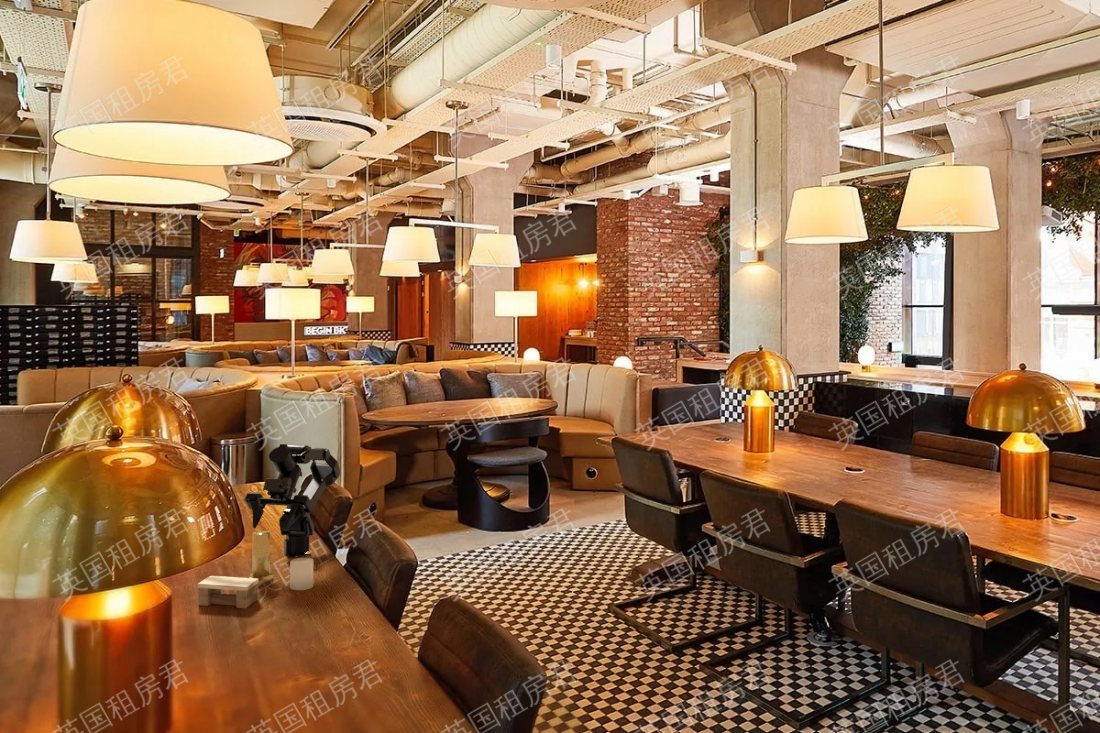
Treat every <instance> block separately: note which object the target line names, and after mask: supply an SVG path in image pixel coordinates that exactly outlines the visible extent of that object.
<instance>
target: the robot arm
mask: <svg viewBox="0 0 1100 733" xmlns="http://www.w3.org/2000/svg"><path fill="white" fill-rule="evenodd" d="M268 457H269V458H268V459H269V461H270V462H271V464H272V465H273V467H274V468H275V470H276V472H278V476H277V478H265V479H264V485H263V488H262V490H264V491H266V492H267V495H268V496H270V497H264V496H263V494H262V493H261V492H251V491H249V492H247V493H246V495H245V496H244V499H243V501H244V502H245V503H246V505H247V506H248V508H250V510H251V511H252V528H253V529H256V528H257V527H258V525H259V523H260V520H261V519H262V516H263V514H264V513H265V512H264V509H265V508H266V506H282V507H283V506H284V507H285V506H286V508H285V509H284V510H283V511H282V514H281V516H280V517H279V521H278V523H279V530H280V535H281V536H285V538H284V540H283V553H284V552H285V553H286V554H287V555H288V556H289V557H288V556H287V555H286V554H285V553H284V554H285V555H286V556H287V557H288V558H290V557H291V558H296V557H295V556H298V557H300V556H299V555H304V554H305V553H306V552H307V551H309V552H310V537H311V536H314V533H315V532H314V531H315V524H314V523H313V521H312V519H311V516H310V515H311V513H312V511H313V509H314V507H315V506H316V504H317V502H318V500H320V497H322V494H323V492H324V491H325V489H326V488H327V487H329V486H331V485H334V484H335V483H336V482H337V480H338V478H339V477H340V475H341V469H340V466H339V462H338V460H337V459H336V458H335V457H334V456H333V455H332V454H331V452H330V450H329V449H328V448H322V447H315V448H312V447H311V446H309V445H305V444H287V443H280V444H279V446H277V447H275V448H273V449H272V450H271V451H270V452H269V454H268ZM311 461H312V462H311ZM316 461H323V462H324V461H325V463H320V462H319V463H318V462H316ZM310 462H311V465H310V467H309V469H310V472H311V475H312V477H311V478H312V479H311V481H310V483H309V485H308V486H307V487H306V489H305V490H304V492H303V493H302V494H297V488H296V487H297V483H298V480H299V478H301V477H303V472H302V468H301V466H300V465H307V464H309V463H310ZM294 493H295V495H294ZM304 556H305V555H304Z"/></svg>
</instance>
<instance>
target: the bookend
mask: <svg viewBox="0 0 1100 733" xmlns="http://www.w3.org/2000/svg"><path fill="white" fill-rule="evenodd" d="M251 546H252V556H251V557H252V561H251V563H252V565H251V566H252V570H251V571H252V572H251V573H250V574H249V578H256V579H259V583H258V587H260V586H261V585H263V584H264V583H267V582H270V581H272V580H273V576H274V575H273V574H274V573H273V572H271V568H270V567H271V563H270V562H271V561H270V560H271V558H270V557H271V533H270V531H269V530H257V531H254V532H252V545H251Z"/></svg>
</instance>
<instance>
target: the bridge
mask: <svg viewBox="0 0 1100 733" xmlns="http://www.w3.org/2000/svg"><path fill="white" fill-rule="evenodd" d="M258 583H259V579H256V578H250V577H236V576H224V575H222V576H220V575H210V576H208V577H206V578H204V579H203V580H201V581H199V582H198V583H197V588H198V606H205V607H206V606H207V607H208V606H210V605H224V606H225V605H226V606H235V607H236V609H237V608H239V609H247V608H248V607H249V606H251V605H252V604H254V603H255V602H257V601H258V598H259V597H258ZM222 590H228V591H231V590H232V591H235V592H236V593H235V594H233V593H231V594H230V593H221V592H222Z"/></svg>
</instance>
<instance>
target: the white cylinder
mask: <svg viewBox="0 0 1100 733" xmlns="http://www.w3.org/2000/svg"><path fill="white" fill-rule="evenodd" d="M289 563H290V564H289V579H290V580H289V588H290V589H291V590H293V591H305V590H310V589H312V588H313V587H314V559H313V558H312V557H311V558H310V557H297V558H296V557H295V558H294V559H291V560H290V562H289Z"/></svg>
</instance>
